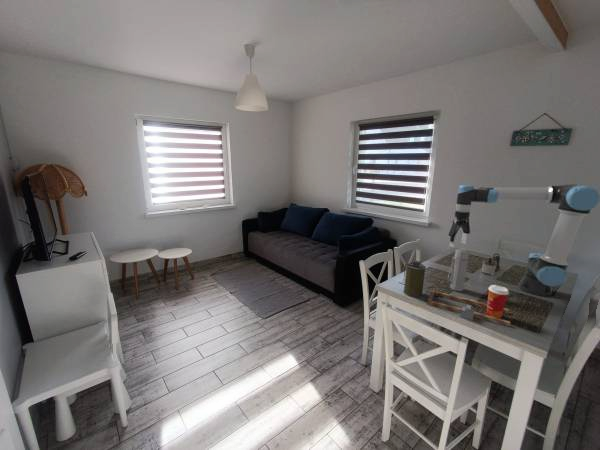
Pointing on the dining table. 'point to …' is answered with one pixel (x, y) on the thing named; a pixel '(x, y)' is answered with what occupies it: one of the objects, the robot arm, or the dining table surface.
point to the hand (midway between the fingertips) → (457, 245)
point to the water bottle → (459, 269)
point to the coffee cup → (496, 301)
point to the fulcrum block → (467, 312)
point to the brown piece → (468, 301)
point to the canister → (414, 278)
